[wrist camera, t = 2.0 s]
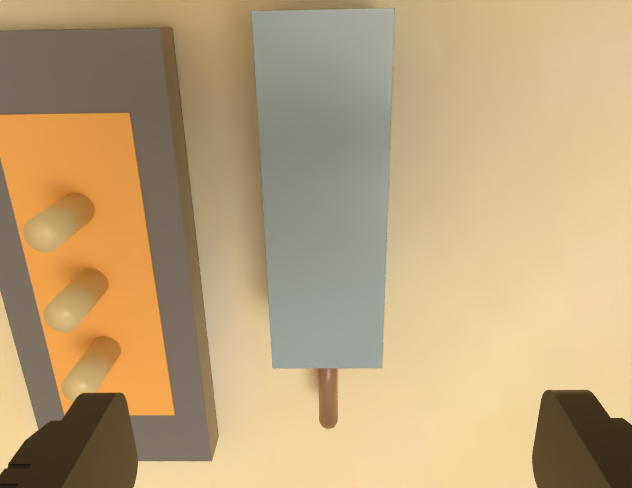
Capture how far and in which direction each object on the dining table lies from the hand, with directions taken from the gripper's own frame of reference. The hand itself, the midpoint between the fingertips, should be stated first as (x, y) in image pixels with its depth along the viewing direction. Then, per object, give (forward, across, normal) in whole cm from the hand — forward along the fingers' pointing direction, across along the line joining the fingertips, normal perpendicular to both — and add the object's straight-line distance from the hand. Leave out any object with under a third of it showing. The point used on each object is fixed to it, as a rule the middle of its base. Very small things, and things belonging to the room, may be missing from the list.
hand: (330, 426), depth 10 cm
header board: (+18, +12, +5) cm, 22 cm away
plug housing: (+18, 0, +3) cm, 18 cm away
